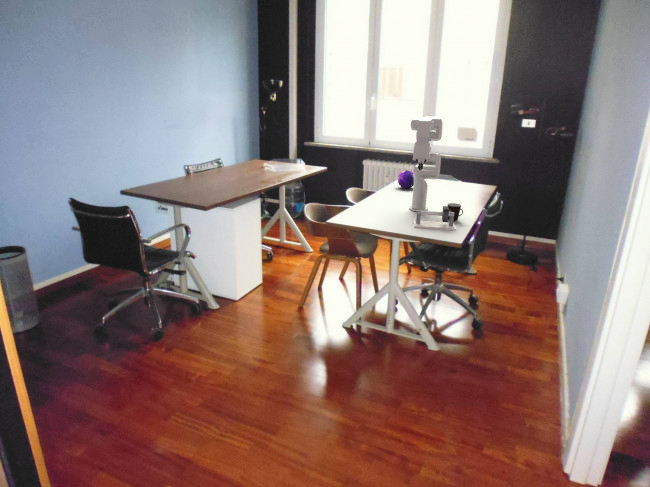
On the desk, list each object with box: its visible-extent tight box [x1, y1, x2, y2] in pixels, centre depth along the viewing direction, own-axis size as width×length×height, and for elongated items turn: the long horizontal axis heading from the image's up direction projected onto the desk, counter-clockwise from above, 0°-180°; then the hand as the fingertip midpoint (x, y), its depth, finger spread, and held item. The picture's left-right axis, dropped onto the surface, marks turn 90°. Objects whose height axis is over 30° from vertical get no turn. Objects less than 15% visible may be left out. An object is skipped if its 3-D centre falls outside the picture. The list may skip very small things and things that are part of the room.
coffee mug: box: [447, 202, 464, 222], centre depth 308 cm, size 12×9×10 cm
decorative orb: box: [397, 169, 414, 190], centre depth 397 cm, size 15×15×15 cm
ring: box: [441, 205, 449, 222], centre depth 294 cm, size 8×3×8 cm, turn 170°
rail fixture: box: [413, 210, 457, 231], centre depth 296 cm, size 13×25×9 cm, turn 80°
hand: (420, 169), depth 301 cm, fingers closed
